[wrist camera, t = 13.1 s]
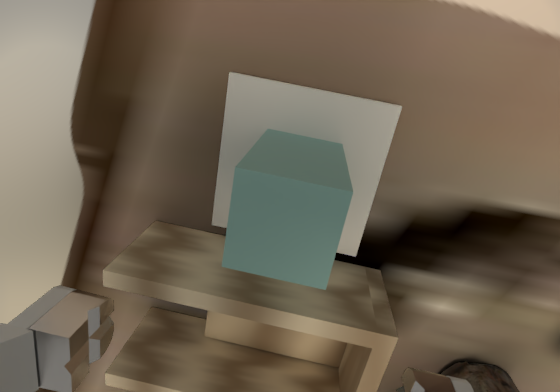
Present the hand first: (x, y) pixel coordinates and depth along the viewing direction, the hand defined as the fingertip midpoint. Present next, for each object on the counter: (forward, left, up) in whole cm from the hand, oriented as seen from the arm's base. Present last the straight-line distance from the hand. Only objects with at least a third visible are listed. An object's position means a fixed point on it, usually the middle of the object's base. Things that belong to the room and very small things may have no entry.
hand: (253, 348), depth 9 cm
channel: (-10, +6, -16) cm, 20 cm away
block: (0, 0, -15) cm, 15 cm away
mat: (0, 0, -16) cm, 16 cm away
